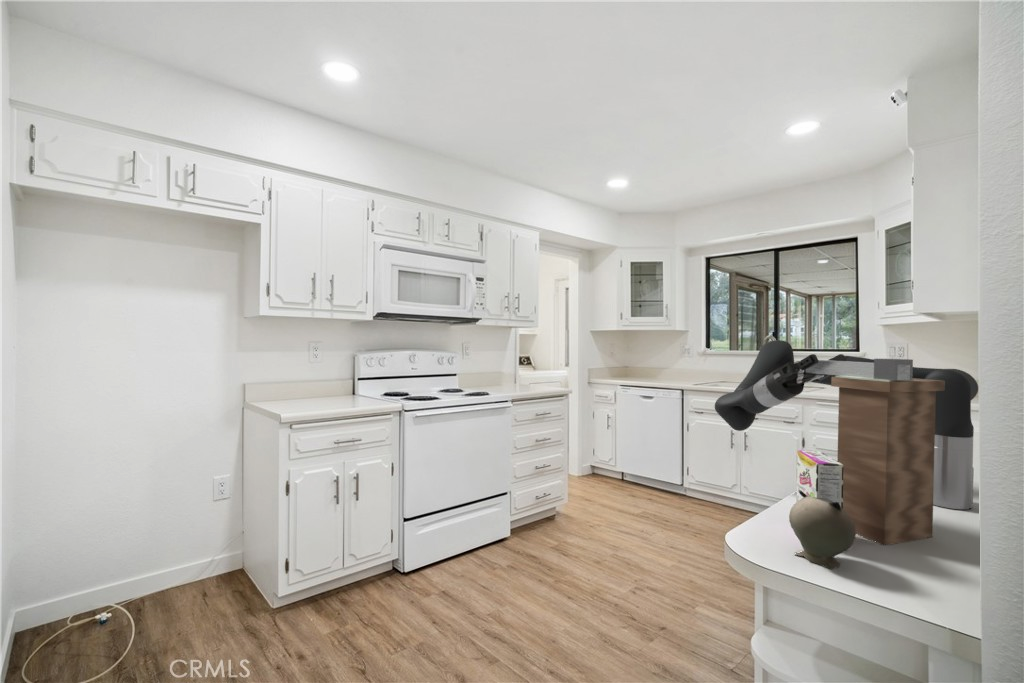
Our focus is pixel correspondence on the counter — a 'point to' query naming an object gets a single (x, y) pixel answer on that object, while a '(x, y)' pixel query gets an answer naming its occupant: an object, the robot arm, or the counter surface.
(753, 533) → the counter surface
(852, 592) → the counter surface
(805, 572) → the counter surface
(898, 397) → the stand
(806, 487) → the candy bar box
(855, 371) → the brushed steel block
